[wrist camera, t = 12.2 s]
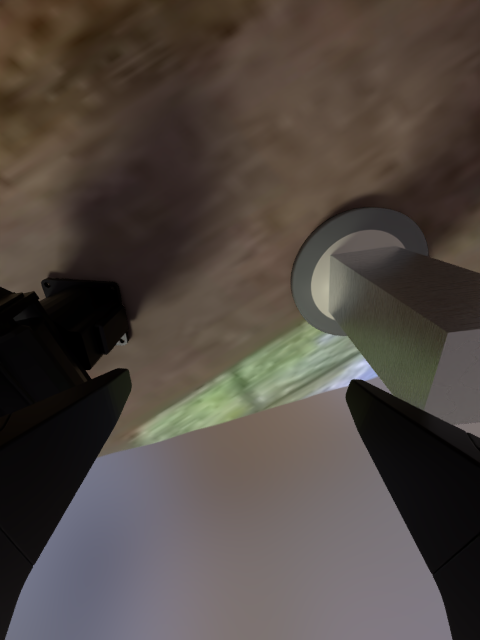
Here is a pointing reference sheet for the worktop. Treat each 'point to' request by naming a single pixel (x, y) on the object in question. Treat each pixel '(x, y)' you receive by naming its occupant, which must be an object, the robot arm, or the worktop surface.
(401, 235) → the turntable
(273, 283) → the worktop surface
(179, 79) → the worktop surface
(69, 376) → the robot arm
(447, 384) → the block
